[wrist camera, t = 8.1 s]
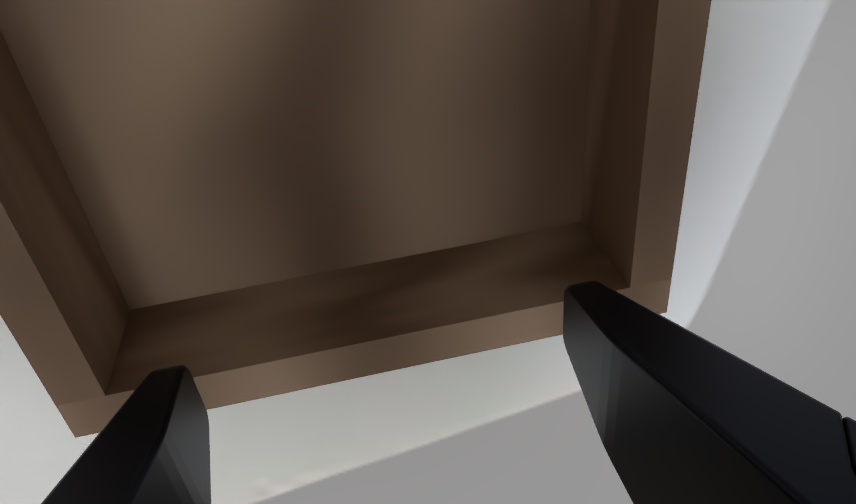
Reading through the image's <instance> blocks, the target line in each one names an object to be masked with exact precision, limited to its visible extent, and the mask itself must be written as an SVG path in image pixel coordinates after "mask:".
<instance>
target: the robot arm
mask: <svg viewBox="0 0 856 504" xmlns="http://www.w3.org/2000/svg"><path fill="white" fill-rule="evenodd" d="M563 338H564V343H565V347H566V350H567V353H568V355H569V358H570V360H571V363H572V366H573V368H574V371H575V373H576V376H577V379H578V381H579V384H580V386H581V389H582V392H583V394H584V397H585V399H586V402H587V405H588V407H589V410H590V412H591V415H592V418H593V420H594V423H595V425H596V428H597V430H598V433H599V435H600V438H601V440H602V443H603V445H604V447H605V449H606V451H607V453H608V456H609V457H610V460H611V462H612V464H613V465H614V467H615V469H616V471H617V473H618V475H619V477H620V479H621V481H622V482H623V484H624V486H625V488H626V490H627V492H628V494H629V496H630V498H631V500H632V501H633V503H634V504H856V421H855V420H853V419H851V418H849V417H845V418H843V419H842V416H841V414H840V413H839V412H838V411H836V410H834V409H832V408H830V407H828V406H827V405H825V404H823V403H821V402H819V401H817V400H816V399H814V398H812V397H810V396H808V395H806V394H805V393H803V392H801V391H799V390H797V389H795V388H794V387H792V386H790V385H788V384H786V383H784V382H782V381H781V380H779V379H777V378H775V377H773V376H771V375H770V374H768V373H766V372H764V371H762V370H761V369H759V368H757V367H755V366H753V365H751V364H749V363H747V362H746V361H744V360H742V359H740V358H738V357H737V356H735V355H733V354H731V353H729V352H727V351H726V350H724V349H722V348H720V347H718V346H716V345H714V344H712V343H711V342H709V341H707V340H705V339H704V338H702V337H700V336H698V335H696V334H694V333H693V332H691V331H689V330H687V329H685V328H683V327H682V326H680V325H678V324H676V323H674V322H672V321H671V320H669V319H667V318H665V317H663V316H661V315H659V314H658V313H656V312H654V311H652V310H650V309H648V308H647V307H645V306H643V305H641V304H639V303H637V302H636V301H634V300H632V299H630V298H628V297H626V296H625V295H623V294H621V293H619V292H617V291H615V290H614V289H612V288H610V287H608V286H606V285H604V284H603V283H601V282H598V281H595V280H591V281H586V282H581V283H576V284H571V285H569V286H568V287H567V288H566V289H565V292H564V305H563ZM41 504H211V485H210V445H209V421H208V415H207V411H206V408H205V405H204V403H203V400H202V398H201V396H200V393H199V391H198V389H197V386H196V384H195V382H194V379H193V377H192V374H191V372H190V370H189V369H188V368H187V367H186V366H184V365H182V364H179V365H174V366H169V367H164V368H159V369H156V370H153V371H151V372H150V373H149V374H148V375H147V376H146V377H145V378H144V380H143V381H142V382H141V383H140V384H139V386H138V387H137V388H136V389H135V390H134V392H133V393H132V394H131V395H130V396H129V398H128V399H127V400H126V401H125V403H124V404H123V405H122V406H121V407H120V409H119V410H118V411H117V412H116V413H115V415H114V416H113V417H112V418H111V420H110V421H109V422H108V423H107V424H106V426H105V427H104V428H103V429H102V430H101V432H100V433H99V434H98V435H97V437H96V438H95V439H94V440H93V441H92V443H91V444H90V445H89V446H88V447H87V449H86V450H85V451H84V452H83V454H82V455H81V456H80V457H79V458H78V460H77V461H76V462H75V463H74V464H73V466H72V467H71V468H70V469H69V470H68V472H67V473H66V474H65V475H64V477H63V478H62V479H61V480H60V481H59V483H58V484H57V485H56V486H55V487H54V489H53V490H52V491H51V492H50V494H49V495H48V496H47V497H46V498H45V500H44V501H43V502H42V503H41Z"/></svg>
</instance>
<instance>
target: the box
mask: <svg viewBox="0 0 856 504" xmlns="http://www.w3.org/2000/svg"><path fill="white" fill-rule="evenodd" d="M710 5H711V0H0V315H1V317H2V318H3V320H4V321H5V323H6V325H7V326H8V328H9V330H10V331H11V333H12V335H13V336H14V338H15V339H16V341H17V343H18V344H19V346H20V348H21V349H22V351H23V353H24V354H25V356H26V358H27V359H28V361H29V362H30V364H31V366H32V367H33V369H34V371H35V372H36V374H37V376H38V377H39V379H40V380H41V382H42V384H43V385H44V387H45V389H46V390H47V392H48V394H49V395H50V397H51V398H52V400H53V402H54V403H55V405H56V407H57V408H58V410H59V412H60V413H61V415H62V416H63V418H64V420H65V421H66V423H67V425H68V426H69V428H70V430H71V431H72V433H73V434H74V436H75V437H80V436H85V435H89V434H94V433H99V432H101V430H102V429H103V428H104V427H105V426H106V424H107V423H108V422H109V421H110V420H111V418H112V417H113V416H114V415H115V413H116V412H117V411H118V410H119V409H120V407H121V406H122V405H123V404H124V403H125V401H126V400H127V399H128V398H129V396H130V395H131V394H132V393H133V392H134V390H135V389H136V388H137V387H138V386H139V384H140V383H141V382H142V381H143V380H144V378H145V377H146V376H147V375H148V374H149V373H150V372H151V371H153V370H156V369H159V368H164V367H169V366H174V365H179V364H182V365H184V366H186V367H187V368H188V369H189V370H190V372H191V374H192V377H193V379H194V382H195V384H196V386H197V389H198V391H199V393H200V396H201V398H202V400H203V403H204V405H205V408H206V410H207V409H212V408H217V407H222V406H226V405H231V404H236V403H241V402H245V401H250V400H255V399H259V398H264V397H269V396H274V395H278V394H283V393H288V392H292V391H297V390H302V389H307V388H311V387H316V386H321V385H326V384H330V383H335V382H340V381H344V380H349V379H354V378H359V377H363V376H368V375H373V374H378V373H382V372H387V371H392V370H396V369H401V368H406V367H411V366H415V365H420V364H425V363H429V362H434V361H439V360H444V359H448V358H453V357H458V356H463V355H467V354H472V353H477V352H481V351H486V350H491V349H496V348H500V347H505V346H510V345H515V344H519V343H524V342H529V341H533V340H538V339H543V338H548V337H552V336H557V335H562V334H563V305H564V292H565V289H566V288H567V287H568V286H569V285H571V284H576V283H581V282H586V281H591V280H595V281H598V282H601V283H603V284H604V285H606V286H608V287H610V288H612V289H614V290H615V291H617V292H619V293H621V294H623V295H625V296H626V297H628V298H630V299H632V300H634V301H636V302H637V303H639V304H641V305H643V306H645V307H647V308H648V309H650V310H652V311H654V312H656V313H658V314H661V313H666V312H667V305H668V298H669V291H670V284H671V277H672V270H673V263H674V256H675V249H676V243H677V236H678V229H679V222H680V215H681V208H682V201H683V194H684V187H685V180H686V173H687V166H688V159H689V152H690V145H691V138H692V131H693V124H694V117H695V110H696V103H697V96H698V89H699V82H700V75H701V68H702V61H703V54H704V47H705V40H706V33H707V26H708V19H709V12H710Z"/></svg>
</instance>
